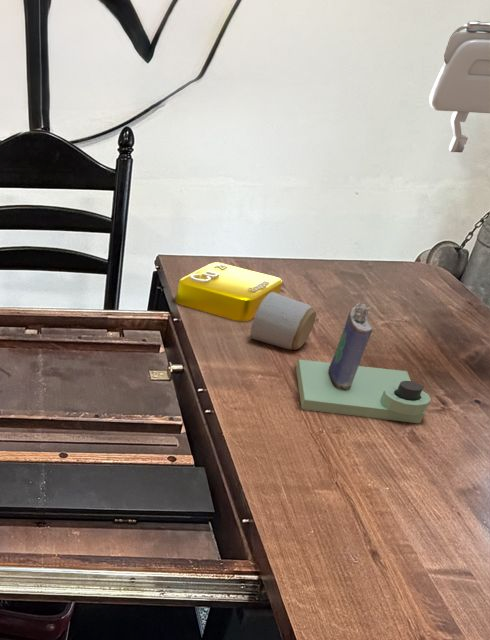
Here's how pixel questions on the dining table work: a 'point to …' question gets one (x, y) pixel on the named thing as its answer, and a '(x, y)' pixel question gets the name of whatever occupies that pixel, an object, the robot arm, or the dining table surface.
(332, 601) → the dining table surface
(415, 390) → the button
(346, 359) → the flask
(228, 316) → the element tile
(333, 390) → the green base with knob
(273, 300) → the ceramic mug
